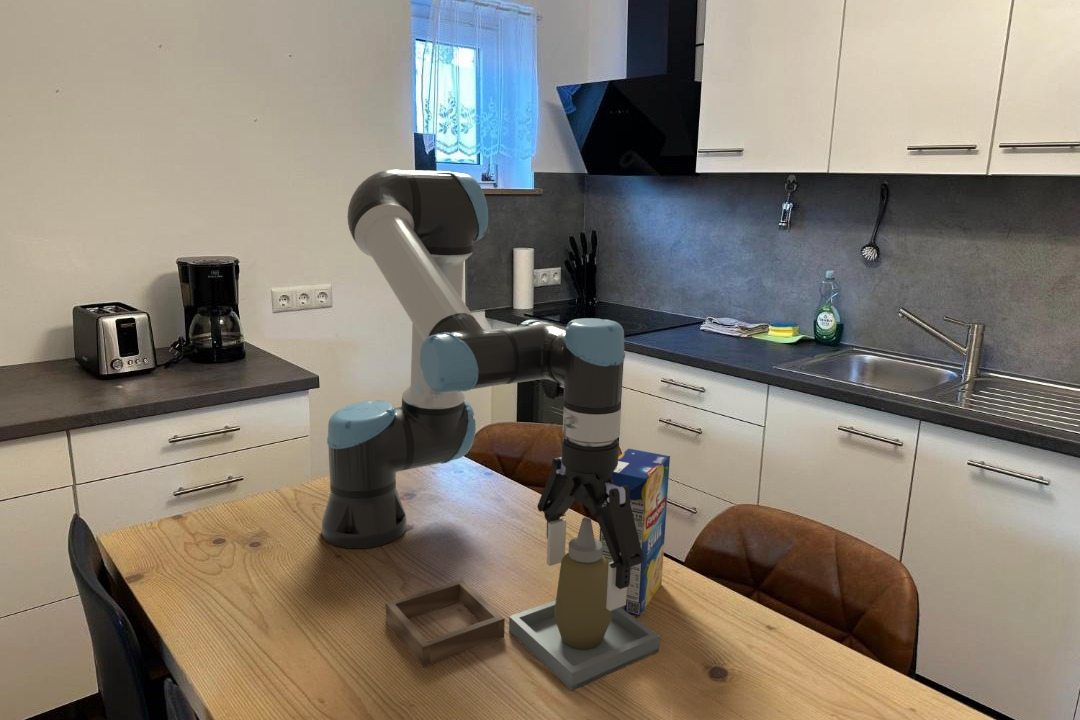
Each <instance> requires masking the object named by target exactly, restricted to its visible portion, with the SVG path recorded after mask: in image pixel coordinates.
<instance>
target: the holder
mask: <svg viewBox="0 0 1080 720" xmlns="http://www.w3.org/2000/svg"><path fill="white" fill-rule="evenodd" d="M456 603H460V604H461V605H462V606H463V607H464V608H465V609H466V610H467V611H468V612H469V613H470V614H471V615H472V616H473V617H474V618H475V619H477V620H478V622H476V623H474V624H470V625H468V626H465V627H462V628H460V629H457V630H453V631H451V632H448V633H445V634H443V635H440V636H436V637H434V638H431V639H429V640H427V639H426V638H425V637H424V636H423V635H422V633H421V632H420V631H419V630H418V629H417V627H416V626H414V624H413V623H412V622H411V620H409V619H411V618H414V617H418V616H420V615H424V614H426V613H430V612H433V611H436V610H438V609H441V608H444V607H445V608H446V607H448V606H451V605H454V604H456ZM385 620H386V623H387V624H388V626H390V628H391V629H392V630H393V632H394V633H395V634H396V635H397V636H398V638H399V639H400V640H401V642H402V643H403V644H404V645H405V646H406V648H407V649H408V650H409V652H410V653H411V654H412V655H413V656H414V658H415V659H416V660H417V661H418V662H419V665H421V666H422V667H423V668H425V667H429V666H431V665H433V664H436V663H439V662H442V661H444V660H447V659H450V658H452V657H453V658H454V657H455V656H458V655H461V654H463V653H466V652H468V651H472V650H473V649H477V648H480V647H482V646H485V645H488V644H490V643H493V642H496V641H498V640H501V639H503V638H505V621H506V619H505V617H504V616H503V615H502V614H501V613H499V612H498V611H497V610H496V608H494V607H493V606H492V605H491V604H490V603H488V601H486V600H485V599H484V598H483V597H482V596H481V595H480V594H478V593H477V592H476V591H475V589H473V588H472V587H471V586H470V584H468V583H467V582H465V580H464V579H459V580H456V581H453V582H450V583H446V584H444V585H443V584H442V585H439V586H437V587H434V588H433V587H432V588H430V589H426V590H424V591H420V592H417V593H414V594H410V595H407V596H404V597H400V598H397V599H393V600H391V601H388V602H385ZM487 643H488V644H487ZM479 646H480V647H479Z"/></svg>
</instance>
